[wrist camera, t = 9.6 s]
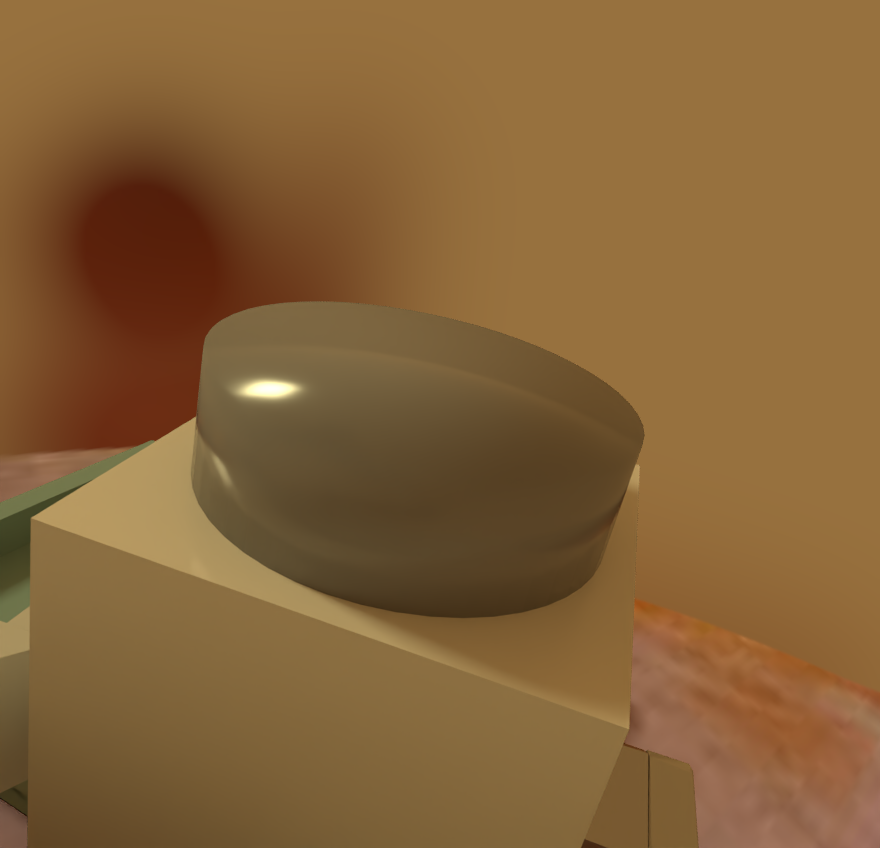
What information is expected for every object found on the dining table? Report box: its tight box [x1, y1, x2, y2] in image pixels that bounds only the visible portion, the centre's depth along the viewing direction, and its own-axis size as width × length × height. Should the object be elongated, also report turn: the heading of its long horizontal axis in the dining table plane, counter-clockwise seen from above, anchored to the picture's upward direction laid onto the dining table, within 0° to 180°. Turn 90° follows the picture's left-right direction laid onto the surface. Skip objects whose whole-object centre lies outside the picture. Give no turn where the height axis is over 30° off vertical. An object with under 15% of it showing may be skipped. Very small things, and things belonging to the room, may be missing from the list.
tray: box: [0, 440, 155, 816], centre depth 28 cm, size 22×16×2 cm
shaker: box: [27, 302, 644, 848], centre depth 9 cm, size 5×5×10 cm
